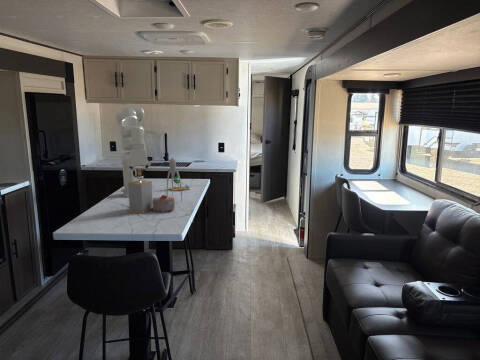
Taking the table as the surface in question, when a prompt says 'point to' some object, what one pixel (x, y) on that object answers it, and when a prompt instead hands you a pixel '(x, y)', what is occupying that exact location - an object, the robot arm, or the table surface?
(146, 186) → the beige tall block
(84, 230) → the table surface
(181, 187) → the frog figurine
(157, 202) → the food item
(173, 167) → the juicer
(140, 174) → the knob
